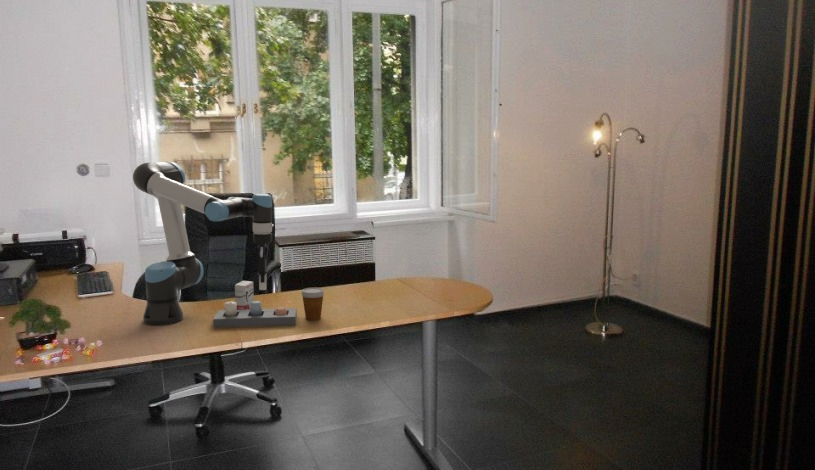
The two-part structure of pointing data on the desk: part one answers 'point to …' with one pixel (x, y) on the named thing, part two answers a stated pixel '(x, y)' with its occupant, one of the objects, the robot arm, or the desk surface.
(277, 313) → the pink rounded piece
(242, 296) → the ink box
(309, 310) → the disposable coffee cup
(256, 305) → the slate button
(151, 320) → the robot arm
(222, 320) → the button panel
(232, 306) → the cream button
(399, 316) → the desk surface
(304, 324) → the desk surface
